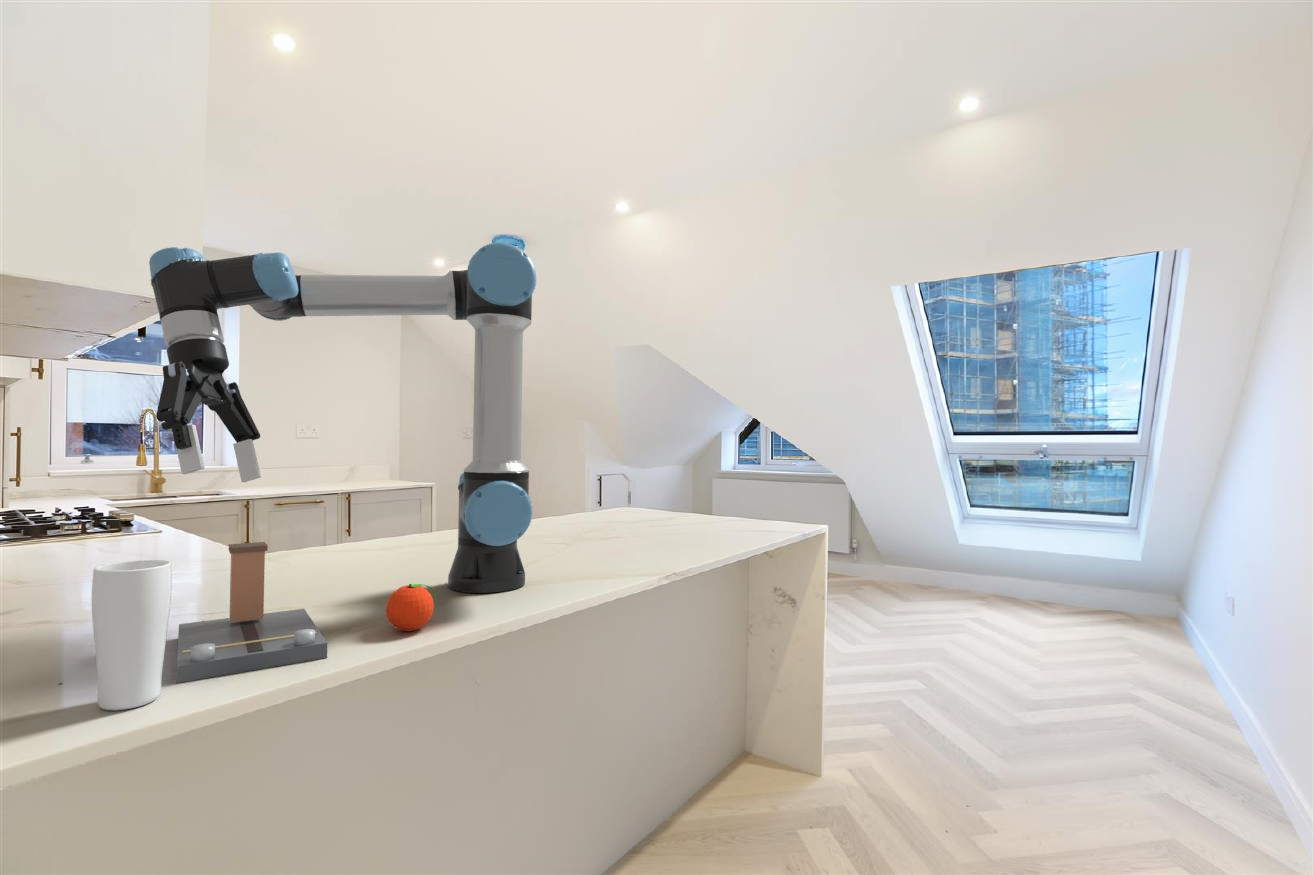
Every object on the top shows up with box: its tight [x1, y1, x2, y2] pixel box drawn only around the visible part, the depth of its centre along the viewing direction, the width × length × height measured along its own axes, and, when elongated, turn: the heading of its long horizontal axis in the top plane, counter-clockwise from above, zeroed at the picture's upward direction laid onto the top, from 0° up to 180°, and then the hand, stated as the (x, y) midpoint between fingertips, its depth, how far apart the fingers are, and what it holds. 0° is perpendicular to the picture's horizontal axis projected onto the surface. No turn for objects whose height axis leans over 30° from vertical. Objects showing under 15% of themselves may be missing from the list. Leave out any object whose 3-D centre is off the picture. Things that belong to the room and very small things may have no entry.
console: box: [176, 608, 328, 684], centre depth 88 cm, size 16×21×4 cm
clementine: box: [385, 583, 436, 632], centre depth 98 cm, size 8×7×7 cm
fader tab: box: [228, 541, 268, 623], centre depth 94 cm, size 5×4×11 cm
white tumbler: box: [91, 559, 173, 711], centre depth 69 cm, size 7×7×15 cm
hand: (224, 476), depth 96 cm, fingers open, 13 cm apart
